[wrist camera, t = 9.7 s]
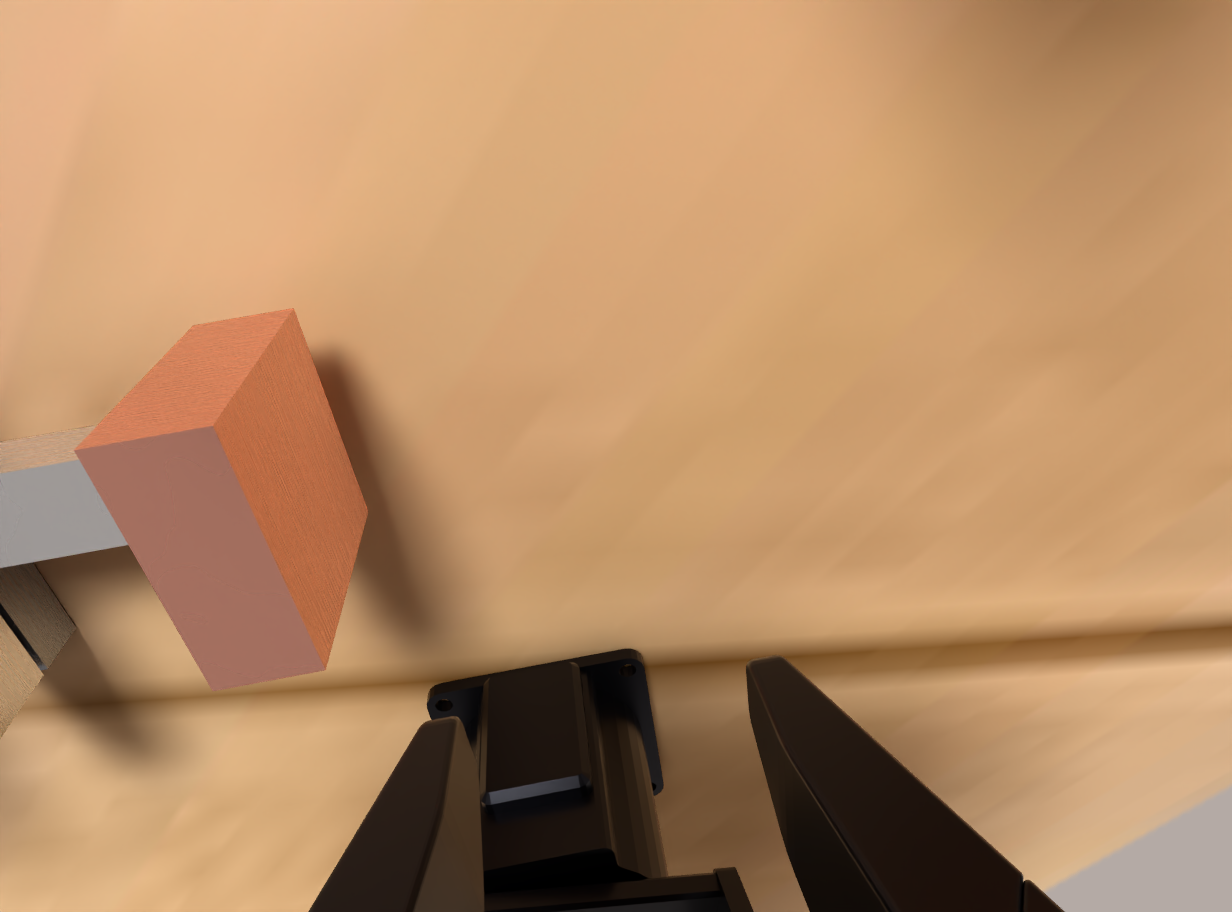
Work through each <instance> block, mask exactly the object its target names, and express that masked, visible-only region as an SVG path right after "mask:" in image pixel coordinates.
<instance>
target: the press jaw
mask: <svg viewBox="0 0 1232 912" xmlns="http://www.w3.org/2000/svg"><path fill="white" fill-rule="evenodd" d="M367 515H368V509H367V506H366V504H365V501H364V498H363V496H362V493H361V490H360V487H359V485H358V482H357V479H356V476H355V474H354V471H353V468H352V466H351V463H350V460H349V457H348V455H347V452H346V449H345V447H344V444H343V441H342V438H341V436H340V433H339V430H338V428H337V425H336V422H335V419H334V417H333V414H332V411H331V409H330V406H329V403H328V400H327V398H326V395H325V392H324V389H323V387H322V384H321V381H320V379H319V376H318V373H317V370H316V368H315V365H314V362H313V360H312V357H311V354H310V351H309V349H308V346H307V343H306V341H305V338H304V335H303V332H302V330H301V327H300V324H299V322H298V319H297V316H296V313H295V311H294V308H292V309H287V310H281V311H275V312H269V313H263V314H257V315H252V316H246V317H240V318H234V319H228V320H223V321H217V322H211V323H205V324H199V325H193V326H192V327H191V328H190V329H189V330H188V331H187V333H186V334H185V335H184V336H183V337H182V338H181V339H180V340H179V341H178V342H177V343H176V344H175V345H174V346H173V347H172V348H171V349H170V350H169V351H168V352H167V353H166V354H165V355H164V357H163V358H162V359H161V360H160V361H159V362H158V363H157V364H156V365H155V366H154V367H153V368H152V369H151V370H150V371H149V372H148V373H147V374H146V375H145V376H144V377H143V378H142V379H141V381H140V382H139V383H138V384H137V385H136V386H135V387H134V388H133V389H132V390H131V391H130V392H129V393H128V394H127V395H126V396H125V397H124V398H123V399H122V400H121V401H120V402H119V403H118V405H117V406H116V407H115V408H114V409H113V410H112V411H111V412H110V413H109V414H108V415H107V416H106V417H105V418H104V419H103V420H102V421H101V422H100V423H99V424H98V425H94V426H89V427H83V428H77V429H72V430H66V431H60V432H55V433H49V434H43V435H37V436H32V437H26V438H20V439H15V440H9V441H3V442H0V568H3V567H9V566H14V565H20V564H25V563H31V562H37V561H42V560H48V559H53V558H59V557H64V556H70V555H75V554H81V553H86V552H92V551H98V550H103V549H109V548H114V547H120V546H125V545H129V547H130V549H131V550H132V552H133V554H134V556H135V557H136V559H137V561H138V563H139V564H140V566H141V568H142V569H143V571H144V573H145V575H146V576H147V578H148V580H149V582H150V583H151V585H152V587H153V589H154V590H155V592H156V594H157V595H158V597H159V599H160V601H161V602H162V604H163V606H164V608H165V609H166V611H167V613H168V614H169V616H170V618H171V620H172V621H173V623H174V625H175V627H176V628H177V630H178V632H179V634H180V635H181V637H182V639H183V640H184V642H185V644H186V646H187V647H188V649H189V651H190V653H191V654H192V656H193V658H194V660H195V661H196V663H197V665H198V666H199V668H200V670H201V672H202V673H203V675H204V677H205V679H206V680H207V682H208V684H209V686H210V687H211V689H212V691H217V690H222V689H227V688H233V687H238V686H243V685H249V684H254V683H259V682H265V681H270V680H275V679H281V678H286V677H291V676H297V675H302V674H307V673H313V672H318V671H324V670H326V667H327V663H328V659H329V655H330V652H331V648H332V644H333V641H334V637H335V633H336V630H337V626H338V622H339V619H340V615H341V611H342V608H343V604H344V600H345V596H346V593H347V589H348V585H349V582H350V578H351V574H352V571H353V567H354V563H355V560H356V556H357V552H358V548H359V545H360V541H361V537H362V534H363V530H364V526H365V523H366V519H367ZM43 675H44V674H43V673H42V672H41V670H40V669H39V668H38V666H37V665H36V663H35V662H34V661H33V659H32V658H31V657H30V655H29V654H28V652H27V651H26V650H25V648H24V647H23V646H22V644H21V643H20V641H19V640H18V639H17V637H16V636H15V635H14V633H13V632H12V630H11V629H10V628H9V626H8V625H7V624H6V622H5V621H4V619H3V618H2V617H1V615H0V738H1V737H2V735H3V734H4V732H5V731H6V730H7V728H8V727H9V725H10V724H11V722H12V721H13V719H14V718H15V716H16V715H17V713H18V712H19V711H20V709H21V708H22V706H23V705H24V703H25V702H26V700H27V699H28V697H29V696H30V694H31V693H32V692H33V690H34V689H35V687H36V686H37V684H38V683H39V681H40V680H41V678H42V677H43Z"/></svg>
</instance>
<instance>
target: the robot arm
mask: <svg viewBox="0 0 1232 912" xmlns="http://www.w3.org/2000/svg"><path fill="white" fill-rule="evenodd" d="M627 664H629V665H631V666H628V667H622V666H624V665H627ZM746 676H747V689H748V703H749V713H750V719H751V724H752V728H753V732H754V735H755V739H756V743H757V746H758V750H759V754H760V757H761V761H762V765H763V768H764V772H765V776H766V779H767V783H768V787H769V790H770V794H771V798H772V801H773V805H774V808H775V812H776V816H777V819H778V823H779V827H780V830H781V834H782V837H783V841H784V844H785V847H786V850H787V854H788V856H789V859H790V862H791V865H792V867H793V870H794V873H795V876H796V878H797V881H798V883H799V886H800V888H801V891H802V893H803V896H804V898H805V901H806V903H807V906H808V908H809V911H810V912H1064V911H1063V910H1062V909H1061V908H1060V907H1059V906H1058V905H1056V903H1055V902H1053V901H1052V900H1051V899H1050V898H1049V897H1048V896H1047V895H1046V894H1045V893H1044V892H1043V891H1042V890H1040V889H1039V888H1038V887H1037V886H1036V885H1035V884H1034V883H1033V882H1032V881H1030V880H1025V881H1024V882H1023V874H1022V873H1021V872H1020V871H1019V870H1018V869H1017V868H1016V867H1015V866H1014V865H1012V864H1011V863H1010V862H1009V861H1008V860H1007V859H1006V858H1005V857H1004V856H1003V855H1001V854H1000V853H999V852H998V851H997V850H996V849H995V848H994V847H993V846H992V845H990V844H989V843H988V842H987V841H986V840H985V839H984V838H983V837H982V836H981V835H979V834H978V833H977V832H976V831H975V830H974V829H973V828H972V827H971V826H969V825H968V824H967V823H966V822H965V821H964V820H963V819H962V818H961V817H960V816H958V815H957V814H956V813H955V812H954V811H953V810H952V809H951V808H950V807H949V806H947V805H946V804H945V803H944V802H943V801H942V800H941V799H940V798H939V797H938V796H936V795H935V794H934V793H933V792H932V791H931V790H930V789H929V788H928V787H926V786H925V785H924V784H923V783H922V782H921V781H920V780H919V779H918V778H917V777H915V776H914V775H913V774H912V773H911V772H910V771H909V770H908V769H907V768H906V767H904V766H903V765H902V764H901V763H900V762H899V761H898V760H897V759H896V758H895V757H893V756H892V755H891V754H890V753H889V752H888V751H887V750H886V749H885V748H883V747H882V746H881V745H880V744H879V743H878V742H877V741H876V740H875V739H874V738H872V737H871V736H870V735H869V734H868V733H867V732H866V731H865V730H864V729H863V728H861V727H860V726H859V725H858V724H857V723H856V722H855V721H854V720H853V719H852V718H850V717H849V716H848V715H847V714H846V713H845V712H844V711H843V710H842V709H841V708H839V707H838V706H837V705H836V704H835V703H834V702H833V701H832V700H831V699H829V698H828V697H827V696H826V695H825V694H824V693H823V692H822V691H821V690H820V689H818V688H817V687H816V686H815V685H814V684H813V683H812V682H811V681H810V680H809V679H807V678H806V677H805V676H804V675H803V674H802V673H801V672H800V671H799V670H798V669H796V668H795V667H794V666H793V665H792V664H791V663H790V662H789V661H788V660H786V659H785V658H784V657H782V656H780V655H773V656H767V657H762V658H757V659H752V660H750V661H749V662H748V663H747V665H746ZM442 699H447V700H449V701H441V700H442ZM427 709H428V712H429V714H430V717H431V720H430V721H427V722H425V723H423V724H422V725H421V726H420V728H419V729H418V731H417V733H416V734H415V736H414V737H413V739H412V741H411V742H410V744H409V746H408V747H407V749H406V751H405V752H404V754H403V756H402V757H401V759H400V761H399V762H398V764H397V766H396V767H395V769H394V771H393V772H392V774H391V776H390V777H389V779H388V781H387V782H386V784H385V786H384V787H383V789H382V791H381V792H380V794H379V796H378V797H377V799H376V801H375V802H374V804H373V806H372V807H371V809H370V810H369V812H368V814H367V815H366V817H365V819H364V820H363V822H362V824H361V825H360V827H359V829H358V830H357V832H356V834H355V835H354V837H353V839H352V840H351V842H350V844H349V845H348V847H347V849H346V850H345V852H344V854H343V855H342V857H341V859H340V860H339V862H338V864H337V865H336V867H335V869H334V870H333V872H332V874H331V875H330V877H329V878H328V880H327V882H326V883H325V885H324V887H323V888H322V890H321V892H320V893H319V895H318V897H317V898H316V900H315V902H314V903H313V905H312V907H311V908H310V910H309V912H754V911H753V909H752V907H751V904H750V902H749V899H748V897H747V894H746V892H745V889H744V887H743V884H742V882H741V880H740V877H739V875H738V872H737V870H736V868H735V867H729V868H717V869H714V870H713V873H705V874H693V875H681V876H669V877H668V871H667V866H666V861H665V855H664V850H663V844H662V839H661V833H660V828H659V822H658V817H657V811H656V806H655V800H654V796H655V795H657V794H658V793H660V792H661V791H662V789H663V785H664V784H663V778H662V772H661V766H660V760H659V754H658V748H657V742H656V736H655V730H654V724H653V718H652V712H651V705H650V699H649V693H648V687H647V681H646V675H645V669H644V664H643V659H642V656H641V654H640V653H639V652H638V651H636V650H633V649H621V650H616V651H610V652H605V653H600V654H594V655H589V656H584V657H579V658H573V659H568V660H563V661H557V662H552V663H547V664H541V665H536V666H531V667H525V668H520V669H515V670H509V671H504V672H499V673H494V674H488V675H483V676H478V677H472V678H467V679H462V680H456V681H451V682H446V683H441V684H438V685H435V686H434V687H432V688H431V689H430V691H429V693H428V699H427Z"/></svg>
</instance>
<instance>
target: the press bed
mask: <svg viewBox="0 0 1232 912" xmlns="http://www.w3.org/2000/svg"><path fill="white" fill-rule="evenodd" d="M0 615H1V617H2V618H3V619H4V621H5V622H6V624H7V625H8V626H9V628H10V629H11V630H12V632H13V633H14V635H15V636H16V637H17V639H18V640H19V641H20V643H21V644H22V646H23V647H24V648H25V650H26V651H27V652H28V654H29V655H30V657H31V658H32V659H33V661H34V662H35V663H36V665H37V666H38V668H39V669H40V670H45V669H48V668H49V667H50V665H51V664H52V662H53V661H54V659H55V658H56V656H57V655H58V654H59V652H60V651H61V649H62V648H63V646H64V645H65V643H66V642H67V640H68V639H69V637H70V636H71V635H72V633H73V632H74V630H75V629H76V627H75V625H74V624H73V622H72V621H71V619H70V618H69V616H68V615H67V613H66V612H65V610H64V609H63V607H62V606H61V604H60V603H59V601H58V600H57V598H56V597H55V595H54V594H53V592H52V591H51V589H50V588H49V586H48V585H47V583H46V582H45V580H44V579H43V577H42V576H41V574H40V573H39V571H38V570H37V568H36V567H35V565H34V564H33V562H31V563H25V564H20V565H14V566H9V567H3V568H0Z"/></svg>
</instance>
